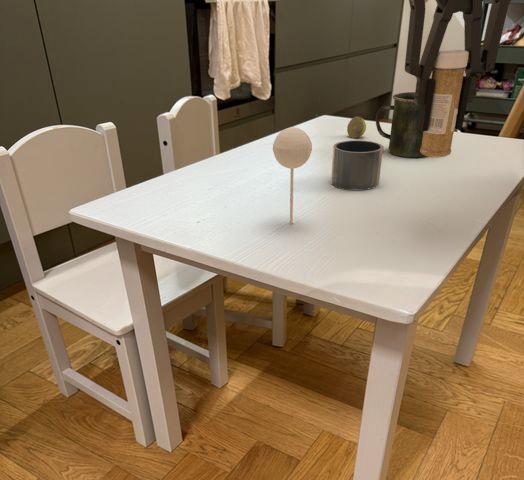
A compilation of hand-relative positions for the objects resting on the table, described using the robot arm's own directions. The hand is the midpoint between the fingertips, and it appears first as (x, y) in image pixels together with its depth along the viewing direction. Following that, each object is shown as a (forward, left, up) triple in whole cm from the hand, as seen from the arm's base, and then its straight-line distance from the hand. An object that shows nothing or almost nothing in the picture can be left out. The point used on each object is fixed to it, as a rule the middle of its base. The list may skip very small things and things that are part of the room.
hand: (439, 127), depth 73 cm
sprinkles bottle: (0, 0, -4) cm, 4 cm away
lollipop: (+21, -3, -15) cm, 26 cm away
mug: (-10, -44, -15) cm, 47 cm away
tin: (+6, -23, -15) cm, 28 cm away
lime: (-2, -60, -15) cm, 62 cm away
